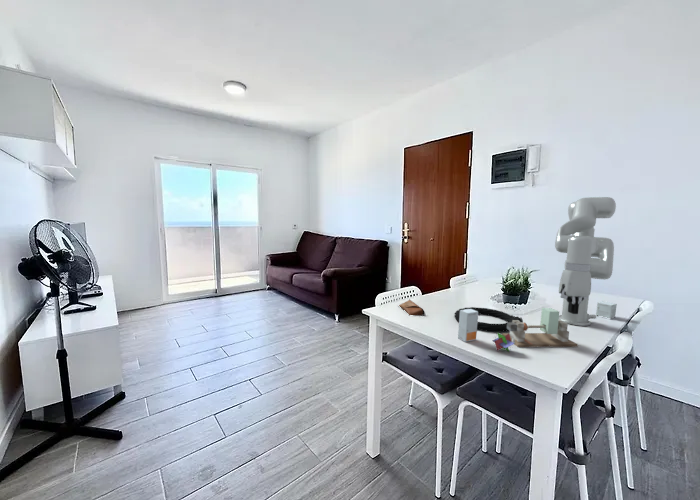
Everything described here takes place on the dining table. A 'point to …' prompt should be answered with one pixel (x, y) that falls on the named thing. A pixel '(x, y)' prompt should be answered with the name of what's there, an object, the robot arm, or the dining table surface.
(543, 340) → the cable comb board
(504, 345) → the geometric puzzle
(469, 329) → the skincare box
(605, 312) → the skincare box
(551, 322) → the sleeve
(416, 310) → the sunglasses case
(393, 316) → the dining table surface
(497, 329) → the cable lock
